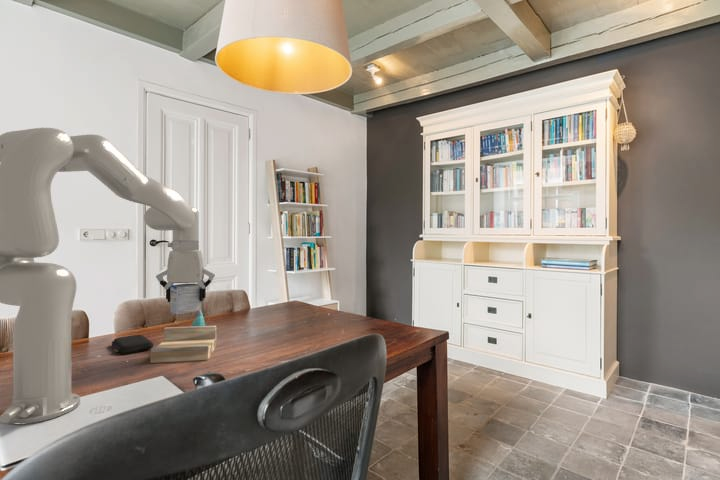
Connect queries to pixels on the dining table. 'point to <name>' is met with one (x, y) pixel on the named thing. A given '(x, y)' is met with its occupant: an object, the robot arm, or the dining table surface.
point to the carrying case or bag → (131, 344)
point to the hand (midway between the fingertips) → (186, 300)
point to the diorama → (199, 320)
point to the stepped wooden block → (185, 344)
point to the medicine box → (184, 298)
